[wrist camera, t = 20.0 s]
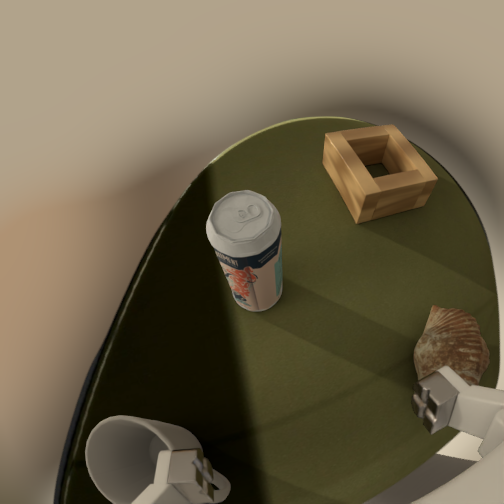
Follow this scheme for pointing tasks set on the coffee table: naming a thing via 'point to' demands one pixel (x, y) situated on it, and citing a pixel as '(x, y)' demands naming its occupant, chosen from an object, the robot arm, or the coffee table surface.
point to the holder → (380, 188)
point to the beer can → (248, 247)
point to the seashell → (452, 345)
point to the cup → (136, 456)
